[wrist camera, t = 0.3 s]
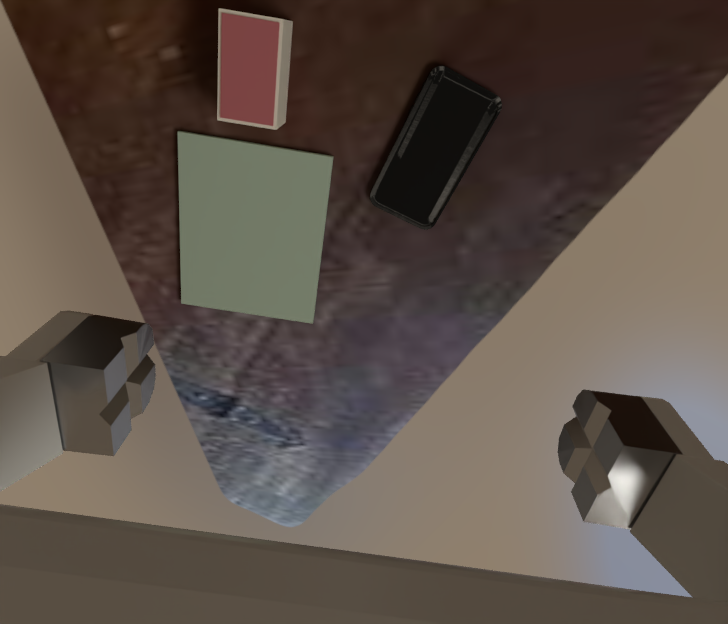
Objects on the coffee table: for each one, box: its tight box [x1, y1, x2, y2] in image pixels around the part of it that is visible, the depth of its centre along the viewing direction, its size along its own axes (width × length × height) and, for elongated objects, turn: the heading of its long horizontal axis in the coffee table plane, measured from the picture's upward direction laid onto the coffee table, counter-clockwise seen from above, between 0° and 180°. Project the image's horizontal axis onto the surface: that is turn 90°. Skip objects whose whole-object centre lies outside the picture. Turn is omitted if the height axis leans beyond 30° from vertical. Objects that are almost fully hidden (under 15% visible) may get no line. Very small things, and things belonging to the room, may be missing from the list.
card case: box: [217, 8, 293, 130], centre depth 47 cm, size 9×6×5 cm, turn 171°
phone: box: [370, 66, 502, 229], centre depth 52 cm, size 8×1×15 cm
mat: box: [178, 131, 333, 323], centre depth 57 cm, size 20×16×1 cm
